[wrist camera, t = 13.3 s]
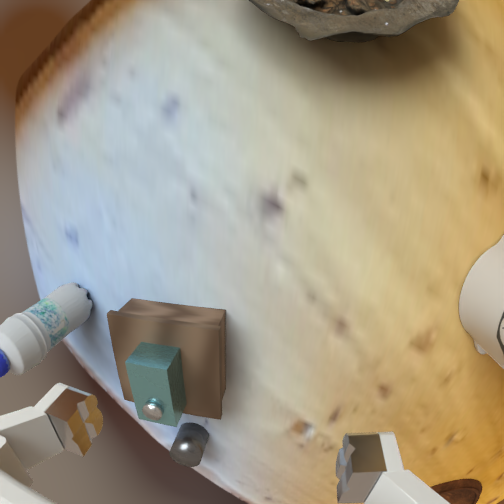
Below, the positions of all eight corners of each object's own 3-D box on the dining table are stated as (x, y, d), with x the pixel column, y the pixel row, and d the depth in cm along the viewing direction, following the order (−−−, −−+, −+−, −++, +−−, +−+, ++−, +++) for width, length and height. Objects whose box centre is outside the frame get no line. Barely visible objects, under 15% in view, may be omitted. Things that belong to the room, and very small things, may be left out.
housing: (180, 347, 36) (164, 374, 31) (186, 403, 38) (174, 431, 33) (141, 341, 36) (121, 365, 31) (151, 396, 39) (136, 422, 34)
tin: (208, 425, 47) (199, 451, 41) (209, 443, 48) (201, 469, 42) (178, 420, 47) (167, 445, 42) (181, 438, 49) (171, 462, 43)
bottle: (67, 315, 44) (-17, 382, 25) (60, 275, 43) (-36, 334, 23) (100, 322, 44) (17, 401, 25) (94, 280, 42) (-4, 350, 23)
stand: (229, 306, 40) (218, 330, 34) (229, 391, 44) (220, 419, 38) (128, 294, 42) (106, 313, 36) (140, 376, 45) (124, 399, 40)
